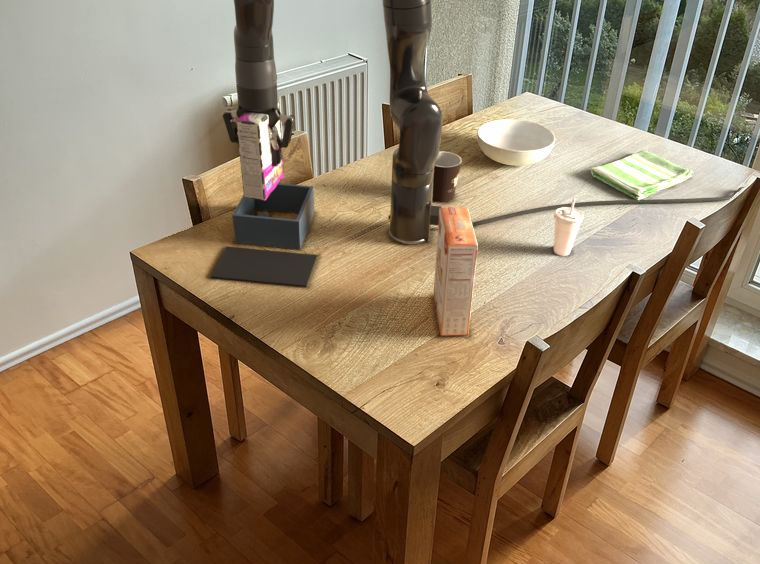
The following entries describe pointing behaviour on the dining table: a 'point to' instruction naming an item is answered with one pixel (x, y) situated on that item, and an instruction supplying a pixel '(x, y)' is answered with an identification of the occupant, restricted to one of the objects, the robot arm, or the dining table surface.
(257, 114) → the candy bar box
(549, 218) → the dining table surface
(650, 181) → the dish towel
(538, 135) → the serving bowl
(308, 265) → the rubber mat
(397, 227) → the robot arm
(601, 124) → the dining table surface
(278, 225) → the open storage bin
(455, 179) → the coffee mug
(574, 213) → the smoothie
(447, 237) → the cracker box
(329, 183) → the dining table surface
